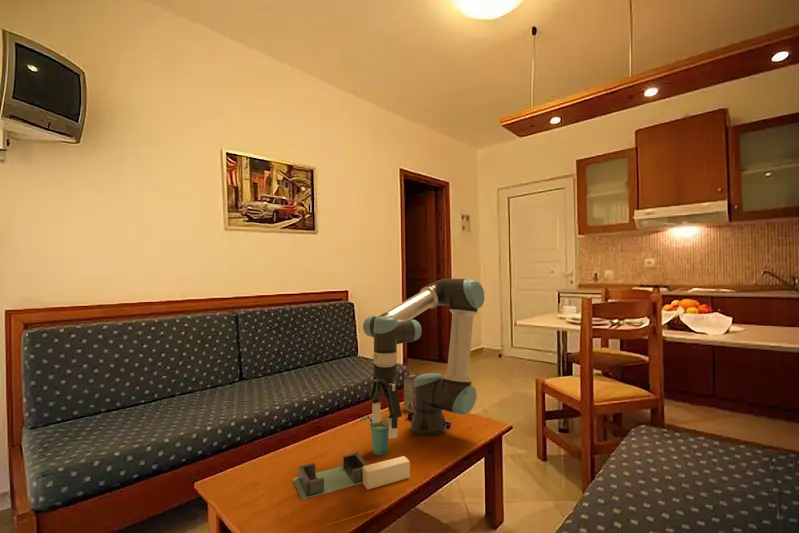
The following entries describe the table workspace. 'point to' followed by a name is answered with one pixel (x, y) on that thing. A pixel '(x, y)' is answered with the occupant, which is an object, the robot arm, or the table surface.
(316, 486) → the cap
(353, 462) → the grey u-shaped bracket
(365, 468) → the slat
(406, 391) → the coffee box
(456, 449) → the table surface
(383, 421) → the cup
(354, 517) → the table surface
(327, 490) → the mat
